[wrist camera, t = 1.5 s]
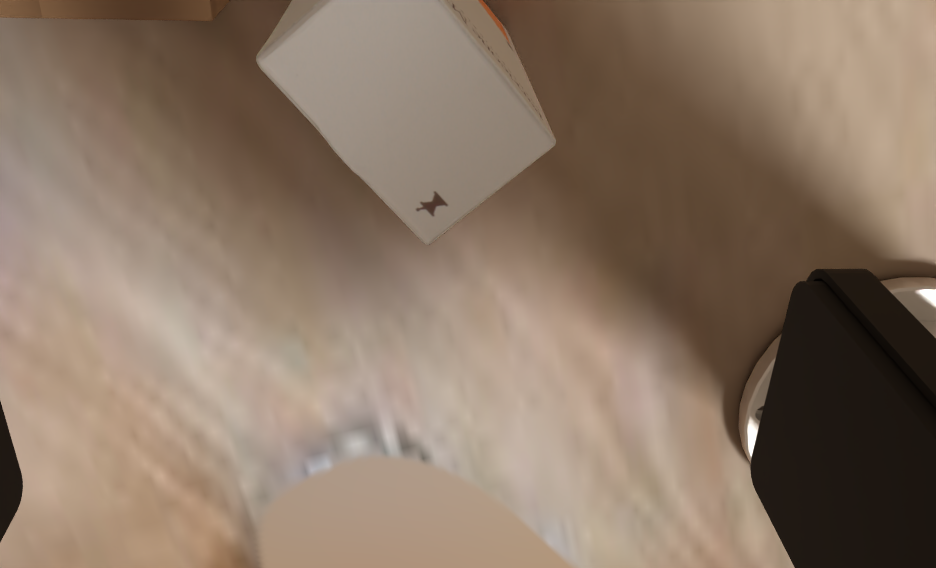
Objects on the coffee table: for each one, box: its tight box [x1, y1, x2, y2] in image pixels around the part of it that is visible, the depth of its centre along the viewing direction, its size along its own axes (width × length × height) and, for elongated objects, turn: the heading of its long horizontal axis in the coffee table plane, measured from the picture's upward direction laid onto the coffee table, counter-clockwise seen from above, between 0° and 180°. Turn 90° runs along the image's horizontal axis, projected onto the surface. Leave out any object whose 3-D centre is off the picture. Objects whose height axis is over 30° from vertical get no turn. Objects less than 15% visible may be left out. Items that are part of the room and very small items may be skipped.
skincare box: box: [256, 0, 556, 245], centre depth 25 cm, size 6×4×12 cm
